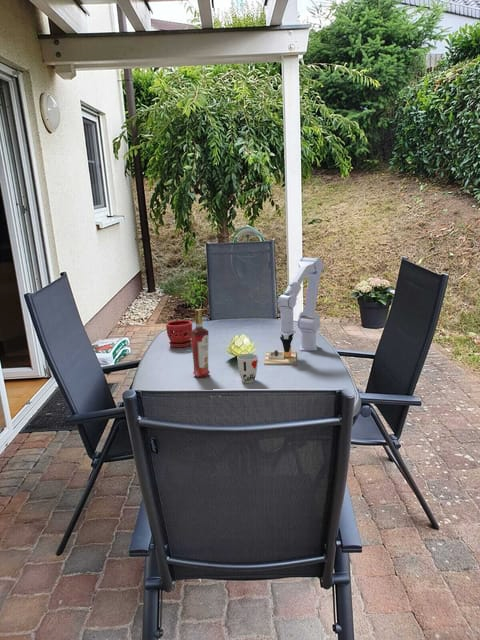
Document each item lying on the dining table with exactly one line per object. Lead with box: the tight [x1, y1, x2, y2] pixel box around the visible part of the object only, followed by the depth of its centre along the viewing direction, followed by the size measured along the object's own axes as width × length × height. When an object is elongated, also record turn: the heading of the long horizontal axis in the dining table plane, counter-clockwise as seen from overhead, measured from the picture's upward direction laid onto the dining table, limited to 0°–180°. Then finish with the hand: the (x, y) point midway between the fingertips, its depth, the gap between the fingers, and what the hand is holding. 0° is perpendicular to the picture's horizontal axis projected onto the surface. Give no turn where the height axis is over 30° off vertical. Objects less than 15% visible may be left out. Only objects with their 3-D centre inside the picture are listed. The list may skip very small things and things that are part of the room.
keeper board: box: [263, 349, 297, 366], centre depth 217 cm, size 18×14×4 cm
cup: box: [236, 353, 259, 384], centre depth 189 cm, size 8×8×10 cm
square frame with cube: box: [268, 344, 292, 359], centre depth 217 cm, size 10×7×5 cm
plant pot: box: [165, 320, 193, 348], centre depth 242 cm, size 13×13×12 cm
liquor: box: [190, 308, 211, 378], centre depth 195 cm, size 7×7×28 cm
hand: (287, 350), depth 216 cm, fingers open, 4 cm apart
